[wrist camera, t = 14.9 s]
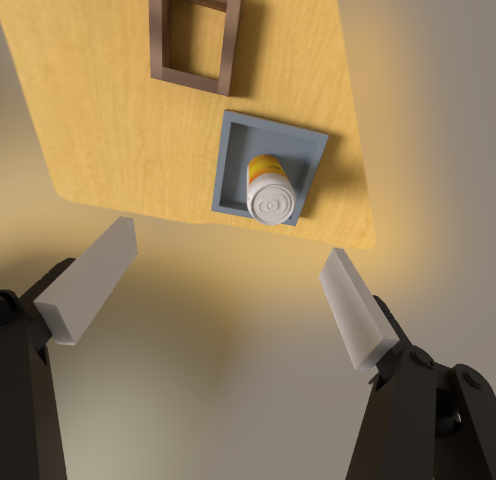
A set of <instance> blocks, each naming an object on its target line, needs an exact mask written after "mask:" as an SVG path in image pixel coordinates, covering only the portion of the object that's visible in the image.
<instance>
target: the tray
mask: <svg viewBox="0 0 496 480" xmlns="http://www.w3.org/2000/svg"><path fill="white" fill-rule="evenodd" d="M328 137H329V135H327V134H325V133H323V132H320V131H316V130H311V129H307V128H303V127H299V126H295V125H290V124H286V123H282V122H278V121H274V120H269V119H265V118H261V117H257V116H252V115H248V114H244V113H240V112H236V111H231V110H227V109H226V110H224V115H223V123H222V131H221V139H220V147H219V155H218V163H217V171H216V178H215V186H214V194H213V202H212V210H211V211H215V212H221V213H226V214H232V215H237V216H243V217H248V218H254V217H252V215H251V214H250V212H249V210H248V207H247V167H248V165H249V163H250V161H251V160H252V159H253V158H255V157H256V156H258V155H261V154H268V155H272V156H273V157H275V158H276V159H277V160H278V161H279V163H280V165H281V167H282V169H283V170H284V172H285V174H286V176H287V178H288V180H289V182H290V184H291V186H292V188H293V190H294V192H295V195H296V204H295V208H294V210H293V212H292V214H291V215H290V217H289V218H288V219H287V220H286V221H284V222H282V223H281V224H287V225H292V226H296V224H297V221H298V218H299V216H300V213H301V210H302V207H303V205H304V202H305V199H306V197H307V194H308V191H309V189H310V186H311V183H312V181H313V178H314V175H315V172H316V170H317V167H318V164H319V162H320V159H321V156H322V154H323V151H324V148H325V145H326V143H327V140H328ZM254 219H255V218H254Z"/></svg>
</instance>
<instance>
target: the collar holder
mask: <svg viewBox="0 0 496 480" xmlns="http://www.w3.org/2000/svg"><path fill="white" fill-rule="evenodd" d="M184 1H188V2H191V3H195V4H198V5H202V6H205V7H209V8H212V9H215V10H219V11H222V12H226V19H225V28H224V37H223V46H222V56H221V65H220V74H219V81H217V80H213V79H209V78H205V77H201V76H197V75H193V74H189V73H185V72H181V71H177V70H173V69H170V8H171V0H149V32H150V68H151V78H154V79H158V80H162V81H167V82H171V83H175V84H179V85H183V86H187V87H191V88H195V89H199V90H203V91H207V92H212V93H216V94H220V95H224V96H228V97H230V90H231V82H232V75H233V67H234V60H235V53H236V45H237V38H238V30H239V23H240V15H241V8H242V0H184Z"/></svg>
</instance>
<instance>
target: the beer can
mask: <svg viewBox="0 0 496 480" xmlns="http://www.w3.org/2000/svg"><path fill="white" fill-rule="evenodd" d="M295 204H296V195H295V192H294V190H293V188H292V186H291V184H290V182H289V180H288V178H287V176H286V174H285V172H284V170H283V169H282V167H281V165H280V163H279V161H278V160H277V159H276V158H275V157H273V156H272V155H268V154H261V155H258V156H256V157H255V158H253V159H252V160H251V161H250V163H249V165H248V167H247V207H248V210H249V212H250V214H251V215H252V217H254V218H255V219H256V220H257V221H258V222H260V223H262V224H265V225H277V224H280V223H282V222H284V221H286V220H287V219H288V218H289V217H290V215H291V214H292V212H293V210H294V208H295Z"/></svg>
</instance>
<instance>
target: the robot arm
mask: <svg viewBox="0 0 496 480" xmlns="http://www.w3.org/2000/svg"><path fill="white" fill-rule="evenodd" d="M137 254H138V251H137V244H136V236H135V229H134V221H133V218H127V217H119V218H118V219H117V220H116V221H115V222H114V223H113V224H112V225H111V226H110V227H109V228H108V229H107V230H106V231H105V232H104V233H103V234H102V235H101V236H100V237H99V238H98V239H97V240H96V241H95V242H94V243H93V244H92V245H91V246H90V247H89V248H88V249H86V250H85V252H83V253H82V254H81V255H80V256H79V257H78V258H77V259H75V258H68V259H66V260H64V261H62V262H60V263H58V264H56V265H55V266H54V267H53V268H52V269H51V270H50V271H49V273H47V274H45V275H44V276H43V277H42V279H41V280H39V281H38V282H36V283H35V284H34V285H33V286H32V287H31V288H30V289H29V290H27V291H26V292H25V293H24V294H23V295H22V296H21V297H20V298H19V299H18V297H17V296H16V294H15V292H13V291H11V290H0V480H67V474H66V467H65V460H64V454H63V447H62V440H61V434H60V427H59V421H58V414H57V407H56V400H55V394H54V387H53V380H52V374H51V368H50V361H49V354H48V348H47V346H46V343H47V341H48V340H49V339H50V338H51V337H52V336H53V338H54V340H55V342H56V343H57V344H68V345H76V343H77V341H78V340H79V339H80V337H81V336H82V334H83V333H84V331H85V330H86V328H87V327H88V325H89V324H90V323H91V321H92V320H93V318H94V317H95V315H96V314H97V312H98V311H99V309H100V307H101V306H102V305H103V303H104V302H105V301H106V299H107V298H108V296H109V295H110V293H111V292H112V290H113V289H114V287H115V286H116V284H117V283H118V281H119V280H120V279H121V277H122V276H123V274H124V273H125V271H126V270H127V268H128V267H129V265H130V264H131V262H132V261H133V259H134V258H135V257H136V255H137ZM319 279H320V281H321V283H322V286H323V289H324V291H325V294H326V297H327V299H328V302H329V304H330V307H331V309H332V311H333V314H334V317H335V319H336V322H337V325H338V327H339V330H340V332H341V335H342V337H343V340H344V342H345V345H346V348H347V350H348V353H349V355H350V358H351V360H352V363H353V365H354V368H355V370H365V371H370V370H371V369H372V367H374V366H375V365H376V366H377V368H378V371H379V372H378V373H377V374H376V375H375V376H374V377H373V378H372V379H371V380H370V381H369V384H370V385H371V384H372V383H373V382H374V383H373V387H372V390H371V394H370V397H369V401H368V404H367V407H366V411H365V414H364V418H363V421H362V424H361V428H360V431H359V435H358V438H357V441H356V445H355V448H354V452H353V455H352V459H351V462H350V465H349V469H348V472H347V476H346V479H345V480H433V478H434V480H496V396H495V394H494V392H493V390H492V388H491V386H490V385H489V383H488V382H487V380H485V378H484V377H483V376H482V375H481V374H480V373H478V372H477V371H476V370H474V369H472V368H471V367H469V366H467V365H464V364H456V365H455V366H454V367H453V368H449V367H446V366H443V365H441V364H438V363H436V362H434V360H433V359H432V358H431V357H430V355H429V354H428V353H426V352H425V351H424V350H423V349H421V348H419V347H417V346H414V345H412V344H411V342H410V341H409V339H408V338H407V336H406V335H405V333H404V332H403V330H402V329H401V327H400V325H399V324H398V322H397V321H396V320H395V319H394V316H393V315H392V313H390V310H389V309H388V307H387V306H386V304H385V303H384V302H383V301H382V300H381V299H380V298H379V297H378V296H375V295H372V294H371V292H370V291H369V290H368V288H367V286H366V284H365V283H364V281H363V280H362V278H361V276H360V275H359V273H358V272H357V270H356V268H355V267H354V265H353V263H352V262H351V260H350V259H349V257H348V255H347V254H346V253H345V251H344V249H340V248H333V249H332V251H331V253H330V255H329V257H328V259H327V261H326V263H325V265H324V267H323V269H322V272H321V273H320V276H319ZM458 414H459V415H460V418H461V422H460V420H459V417H458Z"/></svg>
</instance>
